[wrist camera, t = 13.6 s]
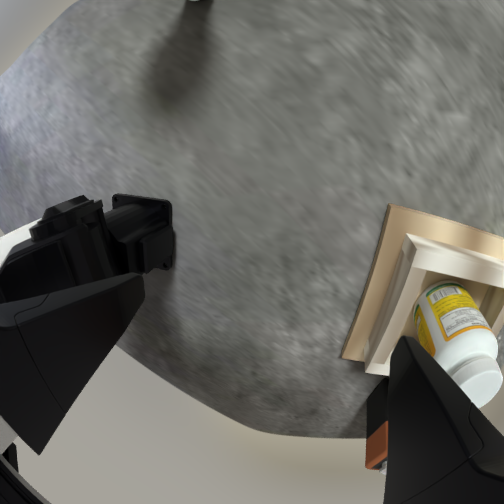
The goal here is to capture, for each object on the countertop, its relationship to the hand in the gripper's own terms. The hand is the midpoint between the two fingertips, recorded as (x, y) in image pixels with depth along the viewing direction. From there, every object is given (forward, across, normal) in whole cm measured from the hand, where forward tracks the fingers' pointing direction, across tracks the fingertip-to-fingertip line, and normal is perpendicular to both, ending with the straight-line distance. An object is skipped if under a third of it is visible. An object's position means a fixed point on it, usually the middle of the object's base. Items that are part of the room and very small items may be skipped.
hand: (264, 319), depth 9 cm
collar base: (+13, -13, +5) cm, 19 cm away
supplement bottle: (+12, -13, +5) cm, 18 cm away
